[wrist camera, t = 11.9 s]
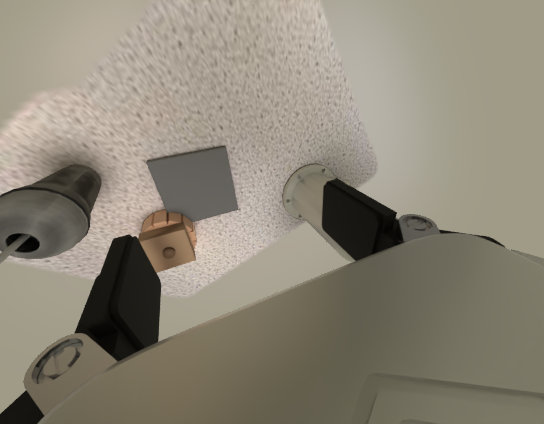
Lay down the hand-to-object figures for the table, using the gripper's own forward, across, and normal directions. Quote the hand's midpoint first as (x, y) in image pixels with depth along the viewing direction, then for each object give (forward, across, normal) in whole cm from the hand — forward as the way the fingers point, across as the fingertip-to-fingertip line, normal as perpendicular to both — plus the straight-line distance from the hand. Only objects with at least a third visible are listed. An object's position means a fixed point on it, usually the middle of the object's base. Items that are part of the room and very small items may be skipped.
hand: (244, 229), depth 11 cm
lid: (+24, +9, +16) cm, 30 cm away
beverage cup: (+28, +17, +4) cm, 33 cm away
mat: (+28, +2, +9) cm, 30 cm away
